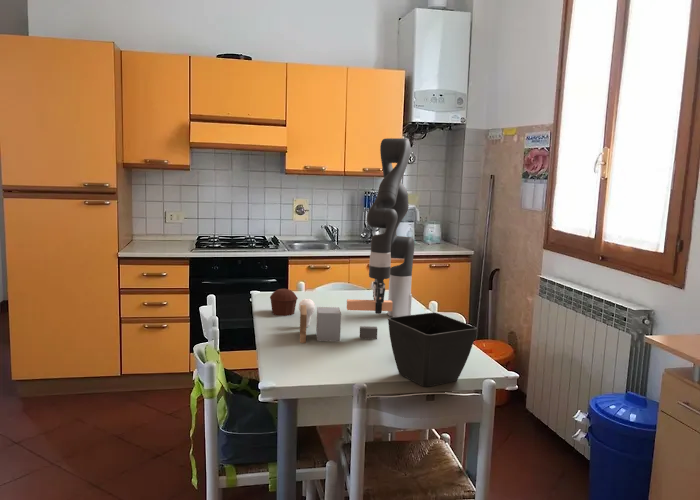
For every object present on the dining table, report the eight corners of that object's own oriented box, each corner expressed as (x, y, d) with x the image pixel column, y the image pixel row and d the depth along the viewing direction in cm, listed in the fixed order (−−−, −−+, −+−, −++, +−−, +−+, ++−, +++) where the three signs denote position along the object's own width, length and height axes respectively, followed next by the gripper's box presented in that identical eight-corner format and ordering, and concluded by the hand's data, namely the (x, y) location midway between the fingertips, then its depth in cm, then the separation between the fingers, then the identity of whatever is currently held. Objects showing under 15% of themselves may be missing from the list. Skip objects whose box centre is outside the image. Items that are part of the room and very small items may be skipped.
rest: (375, 337, 214) (376, 326, 213) (377, 339, 211) (377, 328, 210) (359, 336, 213) (359, 326, 212) (360, 339, 210) (360, 328, 210)
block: (338, 334, 215) (339, 307, 214) (340, 341, 206) (341, 313, 205) (316, 333, 215) (317, 306, 213) (317, 341, 206) (318, 313, 204)
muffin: (264, 311, 244) (264, 288, 242) (287, 308, 250) (288, 285, 249) (279, 318, 234) (279, 293, 233) (302, 315, 241) (303, 291, 240)
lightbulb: (311, 330, 219) (312, 301, 217) (296, 328, 220) (296, 299, 219) (316, 326, 225) (317, 297, 223) (300, 324, 226) (301, 296, 225)
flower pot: (474, 383, 171) (479, 326, 169) (424, 394, 161) (428, 334, 158) (431, 363, 187) (435, 311, 184) (383, 372, 176) (386, 318, 174)
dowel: (390, 309, 213) (391, 300, 212) (392, 311, 210) (392, 302, 209) (346, 308, 211) (347, 299, 211) (347, 310, 208) (347, 301, 208)
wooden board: (305, 331, 217) (305, 305, 215) (305, 342, 203) (306, 314, 201) (299, 331, 216) (300, 305, 215) (299, 342, 203) (300, 314, 201)
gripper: (393, 268, 202) (391, 317, 204) (387, 261, 216) (384, 307, 218) (372, 267, 201) (369, 316, 203) (367, 261, 215) (364, 307, 217)
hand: (377, 311), depth 211 cm, fingers closed on dowel, 3 cm apart
